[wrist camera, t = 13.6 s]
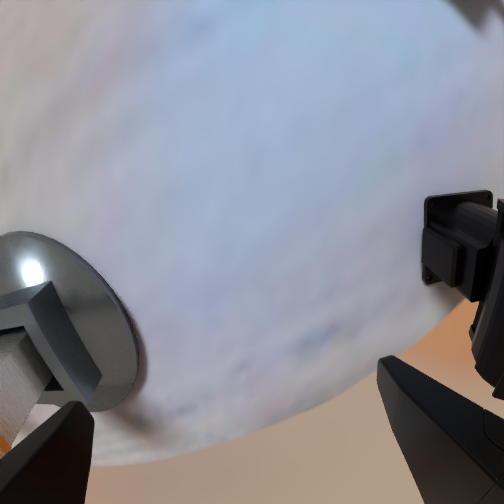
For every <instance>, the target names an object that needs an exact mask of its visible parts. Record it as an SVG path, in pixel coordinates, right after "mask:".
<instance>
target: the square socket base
mask: <svg viewBox="0 0 504 504" xmlns="http://www.w3.org/2000/svg"><path fill="white" fill-rule="evenodd" d="M23 325H24V327H25V329H26V331H27V333H28V334H29V336H30V338H31V340H32V341H33V343H34V345H35V346H36V348H37V350H38V351H39V353H40V355H41V356H42V358H43V359H44V361H45V363H46V364H47V366H48V367H49V369H50V370H51V372H52V373H53V376H52V378H51V380H50V381H49V383H48V384H47V386H46V387H45V389H44V391H43V392H42V394H41V395H40V397H39V399H38V400H37V402H36V404H54V405H56V406H59V407H63V406H64V405H65V404H66V403H68V402H69V401H81V402H82V403H83V404H84V405H85V407H86V408H87V409H88V411H89V412H98V411H102V410H107V409H109V408H112V407H114V406H116V405H117V404H119V403H120V402H121V401H122V400H123V399H124V398H125V397H126V396H127V395H128V393H129V392H130V390H131V388H132V385H133V383H134V380H135V377H136V375H137V371H138V365H139V352H138V345H137V340H136V337H135V333H134V329H133V327H132V325H131V322H130V320H129V317H128V315H127V313H126V311H125V310H124V308H123V306H122V304H121V302H120V301H119V299H118V298H117V296H116V295H115V293H114V292H113V290H112V289H111V288H110V286H109V285H108V284H107V283H106V281H105V280H104V279H103V278H102V277H101V276H100V274H99V273H98V272H97V271H96V270H95V269H94V268H93V267H92V266H91V265H90V264H89V263H87V262H86V261H85V260H84V259H83V258H82V257H80V256H79V255H78V254H77V253H75V252H74V251H72V250H71V249H69V248H68V247H67V246H65V245H63V244H61V243H59V242H58V241H56V240H54V239H52V238H49V237H47V236H44V235H41V234H37V233H33V232H25V231H16V232H9V233H6V234H4V235H1V236H0V336H1V335H2V334H3V333H4V332H5V330H6V329H8V328H13V327H18V326H23Z"/></svg>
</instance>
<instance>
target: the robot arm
mask: <svg viewBox="0 0 504 504" xmlns="http://www.w3.org/2000/svg"><path fill="white" fill-rule="evenodd" d="M487 195H488V197H487ZM486 197H487V199H486ZM431 201H433V205H432V206H431V207H430V203H431ZM492 207H493V194H492V192H491V191H488V190H479V191H470V192H461V193H452V194H443V195H435V196H429V197H427V198H426V199H425V202H424V229H423V243H422V263H423V272H422V279H423V281H424V282H425V283H427V284H432V283H436V282H440V281H444V282H445V283H446V284H447V285H448V286H450V287H451V288H454V287H455V288H456V289H457V290H458V291H459V292H460V293H461V294H463V295H464V296H465V297H466V298H467V299H468V300H469V301H470V302H476V301H479V305H478V309H477V312H476V316H475V319H474V322H473V324H472V325H471V327H470V330H469V335H470V338H471V341H472V353H473V356H474V359H475V361H476V365H475V369H476V370H477V372H478V373H479V374H480V376H481V377H482V378H483V379H484V380H485V381H486V382H487V383H489V384H490V385H491V386H493V387H494V388H495V389H494V392H493V393H492V396H493V397H494V398H498V399H501V400H504V199H498V201H497V209H498V211H496V210H494V209H492ZM429 275H430V277H429V278H428V276H429ZM427 278H428V279H427ZM377 384H378V388H379V391H380V394H381V397H382V400H383V403H384V406H385V409H386V413H387V415H388V419H389V422H390V425H391V428H392V431H393V433H394V435H395V437H396V440H397V442H398V444H399V446H400V448H401V451H402V453H403V455H404V457H405V460H406V462H407V464H408V466H409V469H410V471H411V473H412V475H413V478H414V480H415V482H416V484H417V486H418V489H419V491H420V494H421V496H422V498H423V501H424V503H425V504H504V419H503V418H500V417H499V416H497V415H495V414H493V413H492V412H490V411H488V410H486V409H483V408H482V407H481V406H479V405H477V404H476V403H474V402H472V401H470V400H469V399H467V398H465V397H463V396H462V395H460V394H458V393H457V392H455V391H453V390H451V389H450V388H448V387H446V386H444V385H443V384H441V383H439V382H438V381H436V380H434V379H432V378H431V377H429V376H427V375H425V374H424V373H422V372H420V371H419V370H417V369H415V368H414V367H412V366H410V365H408V364H407V363H405V362H403V361H402V360H400V359H398V358H397V357H395V356H393V355H390V356H386V357H383V358H380V359H379V360H378V367H377ZM94 424H95V423H94V419H93V417H92V415H91V414H90V412H89V411H88V409H87V408H86V407H85V405H84V404H83V403H82V402H81V401H69V402H68V403H66V404H65V405H64V406H63V407H62V408H60V409H59V410H58V411H57V412H56V413H54V414H53V415H52V416H51V417H50V418H48V419H47V420H46V421H45V422H44V423H43V424H41V425H40V426H39V427H38V428H37V429H35V430H34V431H33V432H32V433H31V434H29V435H28V436H27V437H26V438H25V439H23V440H22V441H21V442H20V443H19V444H17V445H16V446H15V447H14V448H13V449H11V450H10V451H9V452H8V453H7V454H6V455H4V456H3V457H2V458H1V459H0V504H84V503H85V495H86V490H87V483H88V477H89V472H90V465H91V457H92V445H93V434H94Z"/></svg>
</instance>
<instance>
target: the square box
mask: <svg viewBox="0 0 504 504" xmlns="http://www.w3.org/2000/svg"><path fill="white" fill-rule="evenodd" d="M52 376H53V373H52V372H51V370H50V369H49V367H48V366H47V364H46V363H45V361H44V359H43V358H42V356H41V355H40V353H39V351H38V350H37V348H36V346H35V345H34V343H33V341H32V340H31V338H30V336H29V334H28V333H27V331H26V329H25V327H24V325H23V326H18V327H13V328H8V329H6V330H5V332H4V333H3V334H2V335H1V336H0V459H1V458H2V457H3V456H4V455H6V454H7V453H8V452H9V451H10V449H11V448H12V447H11V445H12V443H13V442H14V440H15V438H16V436H17V434H18V433H19V431H20V429H21V427H22V426H23V424H24V422H25V420H26V419H27V417H28V415H29V414H30V412H31V410H32V409H33V407H34V405H35V404H36V402H37V400H38V399H39V397H40V395H41V394H42V392H43V391H44V389H45V387H46V386H47V384H48V383H49V381H50V380H51V378H52Z"/></svg>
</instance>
